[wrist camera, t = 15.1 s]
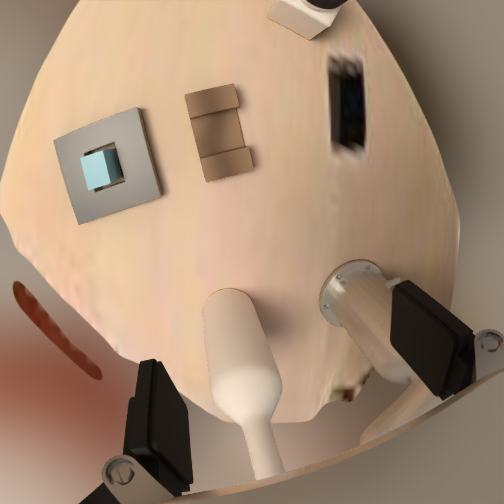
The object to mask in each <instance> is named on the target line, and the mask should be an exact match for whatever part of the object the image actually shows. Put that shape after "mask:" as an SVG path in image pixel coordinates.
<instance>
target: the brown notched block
mask: <svg viewBox="0 0 504 504" xmlns="http://www.w3.org/2000/svg"><path fill="white" fill-rule="evenodd" d="M185 100H186V104H187V108H188V112H189V116H190V120H191V124H192V128H193V133H194V137H195V141H196V145H197V149H198V153H199V157H200V161H201V164H202V168H203V172H204V176H205V180H206V182H210V181H214V180H217V179H221V178H225V177H229V176H233V175H237V174H241V173H245V172H249V171H253V170H254V168H253V164H252V159H251V155H250V150H249V147H246V146H244V141H243V137H242V133H241V128H240V124H239V120H238V115H237V111H236V108H238V107H239V103H238V98H237V94H236V90H235V86H234V84H229V85H224V86H219V87H215V88H210V89H206V90H202V91H198V92H194V93H190V94H186V95H185Z"/></svg>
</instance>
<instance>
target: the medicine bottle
mask: <svg viewBox="0 0 504 504" xmlns="http://www.w3.org/2000/svg"><path fill="white" fill-rule="evenodd" d="M346 1H348V0H276V2H275V3H274V5H273V6H272V8H271V9H270V11H269V13H268V14H267V18H269V19H271V20H273V21H275V22H277V23H279V24H281V25H282V26H284V27H286V28H288V29H290V30H292V31H294V32H295V33H297V34H299V35H301V36H303V37H304V38H306V39H308V40H311V39H313V38H314V37H315V36H317V35H318V34H320V33H321V32H323V31H324V30H326V29H327V28H329V27H330V26H331V24H332V22H333V21H334V19H335V17H336V15H337V14H338V12H339V10H340V8H341V7H342V5H343V3H345V2H346Z"/></svg>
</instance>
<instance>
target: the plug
mask: <svg viewBox="0 0 504 504" xmlns="http://www.w3.org/2000/svg"><path fill="white" fill-rule="evenodd" d="M80 160H81V164H82V168H83V172H84V176H85V180H86V184H87V188H88V190H91V189H95V188H98V187H101V186H104V185H107V184H110V183H112V182H114V181H116V180H117V179H119V178H121V177H122V175H121V171H120V167H119V162H118V158H117V154H116V149H115V148H114V149H108V150H102V151H99V152H96V153H93V154H91V155H88V156H85V157H82V158H80Z"/></svg>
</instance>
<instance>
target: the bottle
mask: <svg viewBox="0 0 504 504" xmlns="http://www.w3.org/2000/svg"><path fill="white" fill-rule="evenodd" d="M202 317H203V328H204V338H205V348H206V357H207V366H208V374H209V383H210V389H211V394H212V398H213V400H214V402H215V404H216V405H217V406H218V408H219V409H220V410H221V411H223V412H224V413H225V414H226V415H227V416H228V417H230V418H231V419H232V420H234V421H235V422H236V423H238V424H239V425H240V426H241V427H242V428H243V431H244V434H245V438H246V442H247V446H248V450H249V454H250V458H251V462H252V466H253V470H254V474H255V478H256V480H260V479H264V478H268V477H272V476H275V475H279V474H282V473H285V470H284V467H283V464H282V461H281V458H280V454H279V451H278V449H277V445H276V442H275V439H274V435H273V432H272V428H271V424H270V420H271V417H272V415H273V413H274V410H275V408H276V406H277V404H278V402H279V399H280V396H281V392H282V380H281V377H280V374H279V371H278V368H277V365H276V363H275V360H274V358H273V355H272V353H271V350H270V347H269V345H268V342H267V340H266V337H265V334H264V332H263V329H262V326H261V324H260V321H259V319H258V316H257V313H256V311H255V308H254V305H253V303H252V301H251V299H250V298H249V297H248V296H247V295H246V294H245V293H244V292H242V291H239V290H236V289H222V290H219V291H217V292H215V293H213V294H212V295H211V296H209V297H208V299H207V300H206V301H205V303H204V306H203V310H202Z"/></svg>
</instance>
